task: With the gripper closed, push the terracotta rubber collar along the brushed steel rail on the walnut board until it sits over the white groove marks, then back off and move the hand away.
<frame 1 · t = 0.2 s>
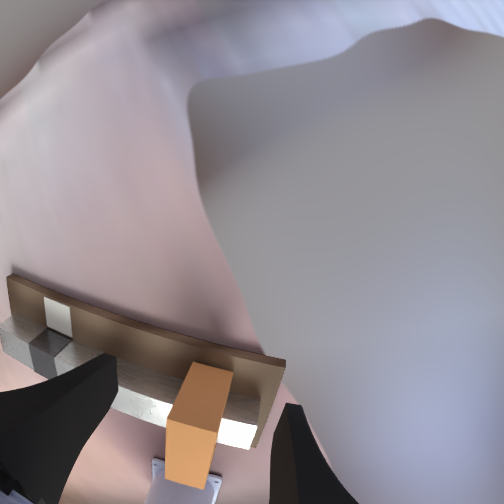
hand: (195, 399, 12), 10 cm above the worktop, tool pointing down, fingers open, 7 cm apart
collar: (197, 429, 20), point 4 cm above the worktop, slide at 0.0 cm
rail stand: (122, 364, 24), on the worktop
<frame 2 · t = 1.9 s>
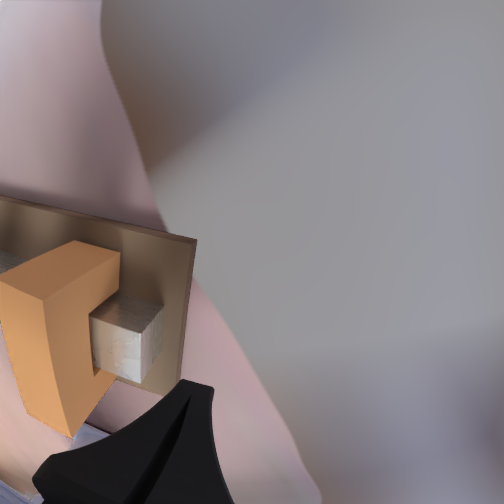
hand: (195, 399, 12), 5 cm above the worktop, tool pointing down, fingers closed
collar: (66, 337, 13), point 4 cm above the worktop, slide at 0.0 cm
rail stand: (19, 269, 17), on the worktop
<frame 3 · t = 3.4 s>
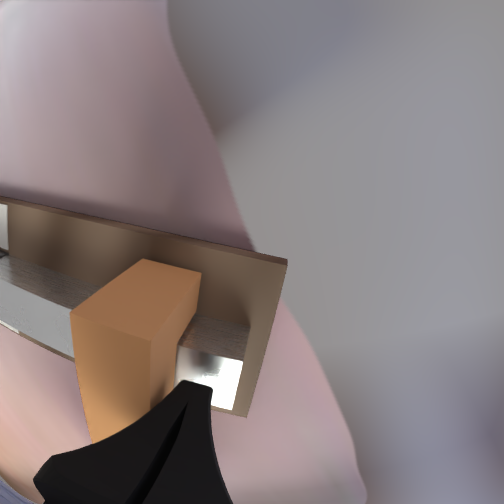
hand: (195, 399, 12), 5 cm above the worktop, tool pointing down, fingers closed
collar: (142, 367, 13), point 4 cm above the worktop, slide at 0.2 cm, touching gripper
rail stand: (63, 287, 17), on the worktop
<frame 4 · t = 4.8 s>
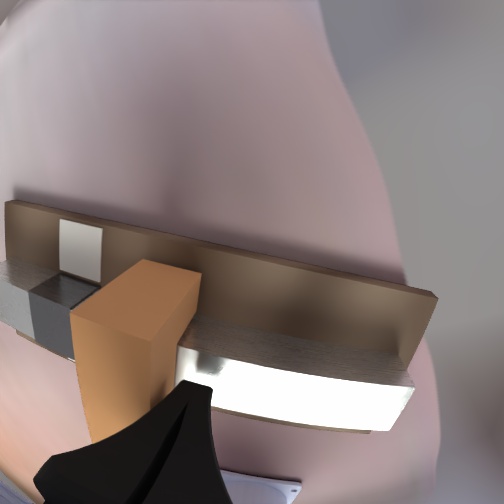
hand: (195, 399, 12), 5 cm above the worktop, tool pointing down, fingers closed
collar: (142, 367, 13), point 4 cm above the worktop, slide at 8.4 cm, touching gripper
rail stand: (179, 324, 17), on the worktop
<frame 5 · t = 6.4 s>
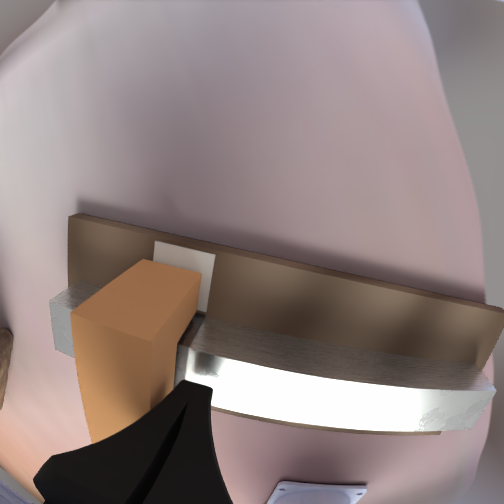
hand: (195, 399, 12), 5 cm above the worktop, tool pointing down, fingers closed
collar: (142, 367, 13), point 4 cm above the worktop, slide at 14.4 cm, touching gripper
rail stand: (286, 349, 17), on the worktop
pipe: (4, 355, 21), on the worktop
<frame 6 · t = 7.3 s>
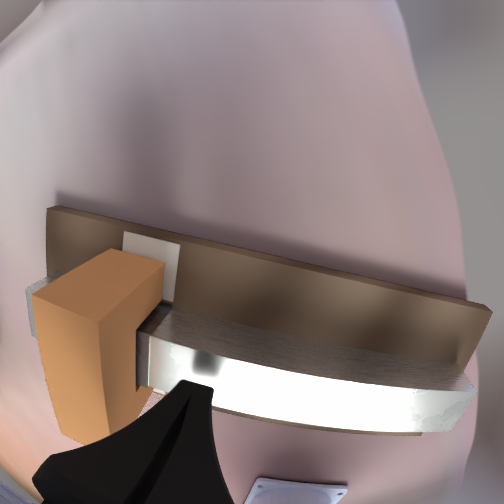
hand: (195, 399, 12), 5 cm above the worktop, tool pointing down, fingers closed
collar: (106, 353, 13), point 4 cm above the worktop, slide at 14.5 cm
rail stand: (255, 342, 17), on the worktop
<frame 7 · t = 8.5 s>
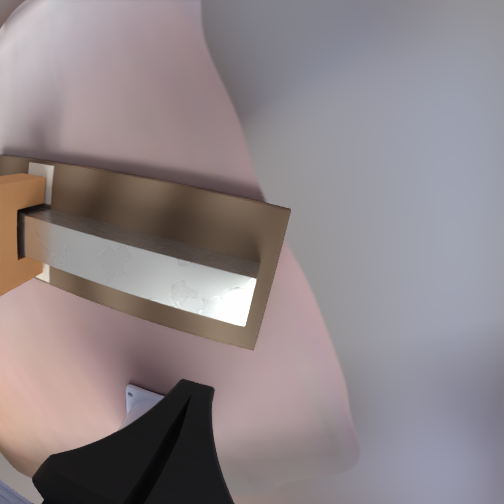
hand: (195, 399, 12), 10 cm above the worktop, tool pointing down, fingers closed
collar: (5, 231, 17), point 4 cm above the worktop, slide at 14.5 cm
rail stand: (100, 236, 21), on the worktop
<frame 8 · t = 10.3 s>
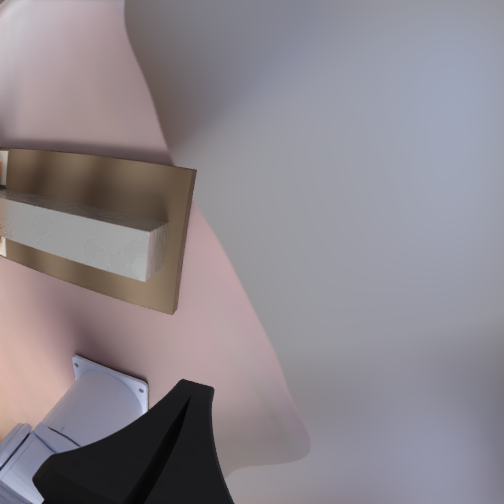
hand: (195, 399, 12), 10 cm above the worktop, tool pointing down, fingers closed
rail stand: (43, 211, 21), on the worktop
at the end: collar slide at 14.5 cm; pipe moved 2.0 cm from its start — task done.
